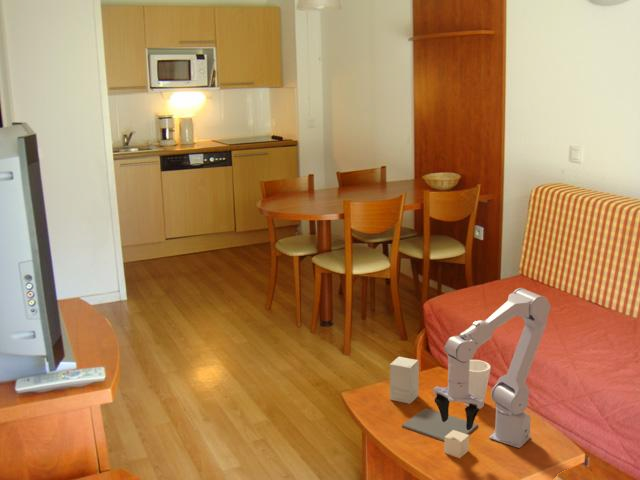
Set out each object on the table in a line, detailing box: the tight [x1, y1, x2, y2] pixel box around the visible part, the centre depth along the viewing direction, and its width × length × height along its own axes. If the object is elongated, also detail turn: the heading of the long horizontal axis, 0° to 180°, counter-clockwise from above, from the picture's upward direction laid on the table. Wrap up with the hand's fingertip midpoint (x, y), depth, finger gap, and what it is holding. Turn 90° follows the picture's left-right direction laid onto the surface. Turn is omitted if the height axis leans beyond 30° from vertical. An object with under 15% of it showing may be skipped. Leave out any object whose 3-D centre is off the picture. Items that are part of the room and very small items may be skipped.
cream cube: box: [443, 430, 470, 459], centre depth 206 cm, size 5×5×5 cm
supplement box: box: [389, 356, 420, 405], centre depth 239 cm, size 7×7×13 cm
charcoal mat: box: [401, 407, 479, 442], centre depth 221 cm, size 18×14×1 cm
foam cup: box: [463, 359, 491, 407], centre depth 234 cm, size 10×9×13 cm
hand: (457, 424), depth 205 cm, fingers open, 7 cm apart
